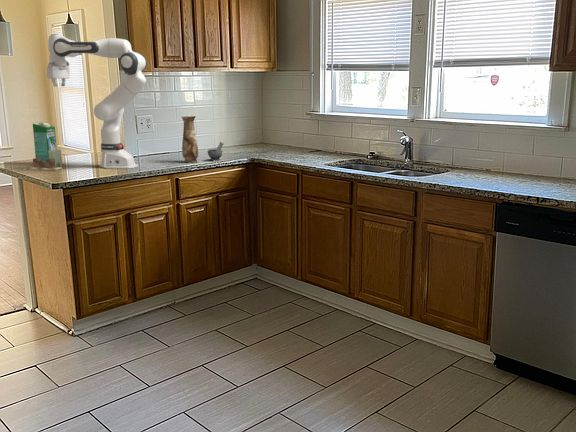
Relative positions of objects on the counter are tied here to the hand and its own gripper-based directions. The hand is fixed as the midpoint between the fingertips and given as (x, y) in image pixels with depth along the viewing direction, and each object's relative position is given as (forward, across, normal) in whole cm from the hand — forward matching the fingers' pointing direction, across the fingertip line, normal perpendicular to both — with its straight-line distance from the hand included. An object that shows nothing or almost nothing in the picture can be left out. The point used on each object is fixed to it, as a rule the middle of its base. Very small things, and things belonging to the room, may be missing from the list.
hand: (59, 86), depth 342 cm
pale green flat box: (+47, -10, +1) cm, 48 cm away
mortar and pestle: (+47, +39, -86) cm, 105 cm away
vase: (+47, +27, -72) cm, 90 cm away
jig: (+47, -19, +3) cm, 51 cm away
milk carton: (+47, +1, +12) cm, 49 cm away
